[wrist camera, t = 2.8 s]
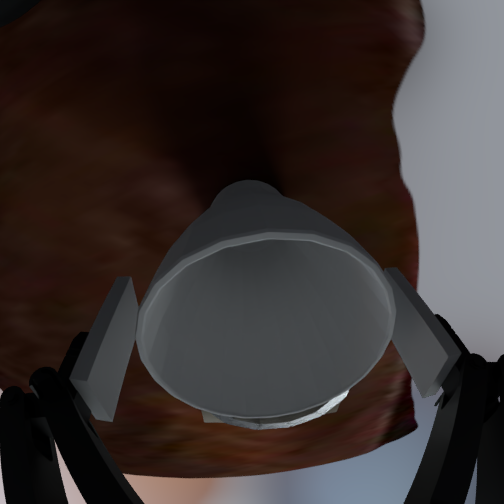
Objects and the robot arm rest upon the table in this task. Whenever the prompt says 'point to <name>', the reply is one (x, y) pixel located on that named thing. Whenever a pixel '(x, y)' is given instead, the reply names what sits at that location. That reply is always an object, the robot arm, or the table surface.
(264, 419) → the ring collar
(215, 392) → the cup
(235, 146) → the table surface
